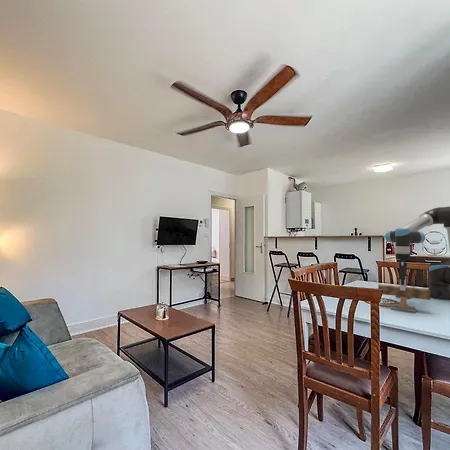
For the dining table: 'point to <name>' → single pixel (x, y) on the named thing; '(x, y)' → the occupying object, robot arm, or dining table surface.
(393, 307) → the fulcrum
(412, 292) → the bar
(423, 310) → the dining table surface
